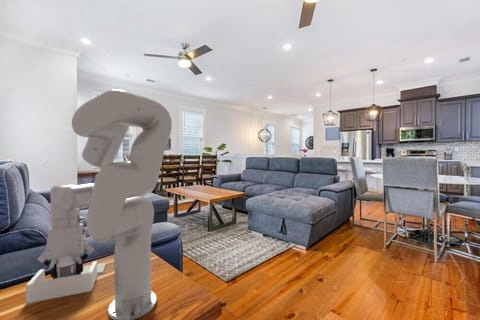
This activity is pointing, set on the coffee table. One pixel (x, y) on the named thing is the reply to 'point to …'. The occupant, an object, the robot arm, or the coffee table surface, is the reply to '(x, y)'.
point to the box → (59, 285)
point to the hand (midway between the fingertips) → (67, 276)
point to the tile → (99, 268)
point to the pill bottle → (66, 266)
